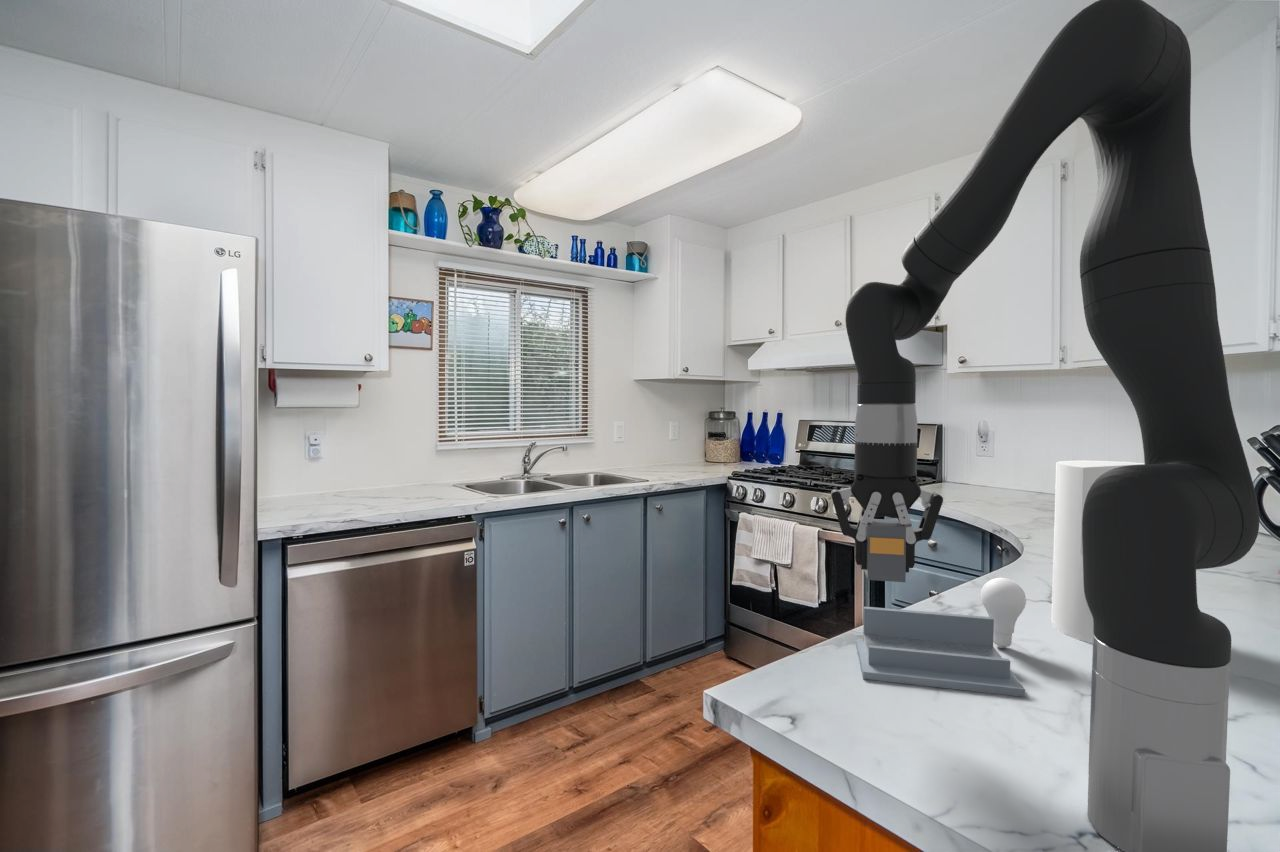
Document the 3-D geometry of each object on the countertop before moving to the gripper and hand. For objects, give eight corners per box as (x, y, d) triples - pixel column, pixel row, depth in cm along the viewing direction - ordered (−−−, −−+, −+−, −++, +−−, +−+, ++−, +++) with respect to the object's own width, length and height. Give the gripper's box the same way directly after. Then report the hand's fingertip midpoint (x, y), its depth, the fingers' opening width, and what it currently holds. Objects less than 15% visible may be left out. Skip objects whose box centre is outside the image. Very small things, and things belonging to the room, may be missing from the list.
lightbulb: (1031, 657, 93) (1033, 585, 92) (987, 654, 94) (989, 583, 93) (1015, 641, 99) (1017, 574, 98) (974, 638, 100) (975, 571, 99)
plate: (1008, 676, 84) (1008, 665, 84) (868, 662, 89) (868, 651, 89) (992, 656, 91) (993, 646, 91) (863, 643, 95) (863, 634, 95)
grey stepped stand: (1024, 696, 80) (1026, 648, 80) (863, 678, 86) (863, 632, 85) (997, 659, 92) (998, 616, 92) (856, 645, 97) (856, 604, 97)
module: (905, 582, 77) (906, 527, 77) (867, 580, 78) (868, 525, 78) (899, 571, 82) (900, 519, 82) (863, 569, 83) (864, 518, 83)
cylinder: (1027, 621, 108) (1032, 462, 106) (1094, 609, 114) (1099, 459, 113) (1136, 660, 92) (1143, 473, 90) (1207, 644, 98) (1214, 469, 96)
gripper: (829, 440, 78) (828, 573, 78) (952, 441, 74) (950, 581, 75) (826, 437, 85) (826, 559, 86) (939, 438, 82) (937, 566, 82)
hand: (884, 569), depth 80 cm, fingers closed on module, 4 cm apart
